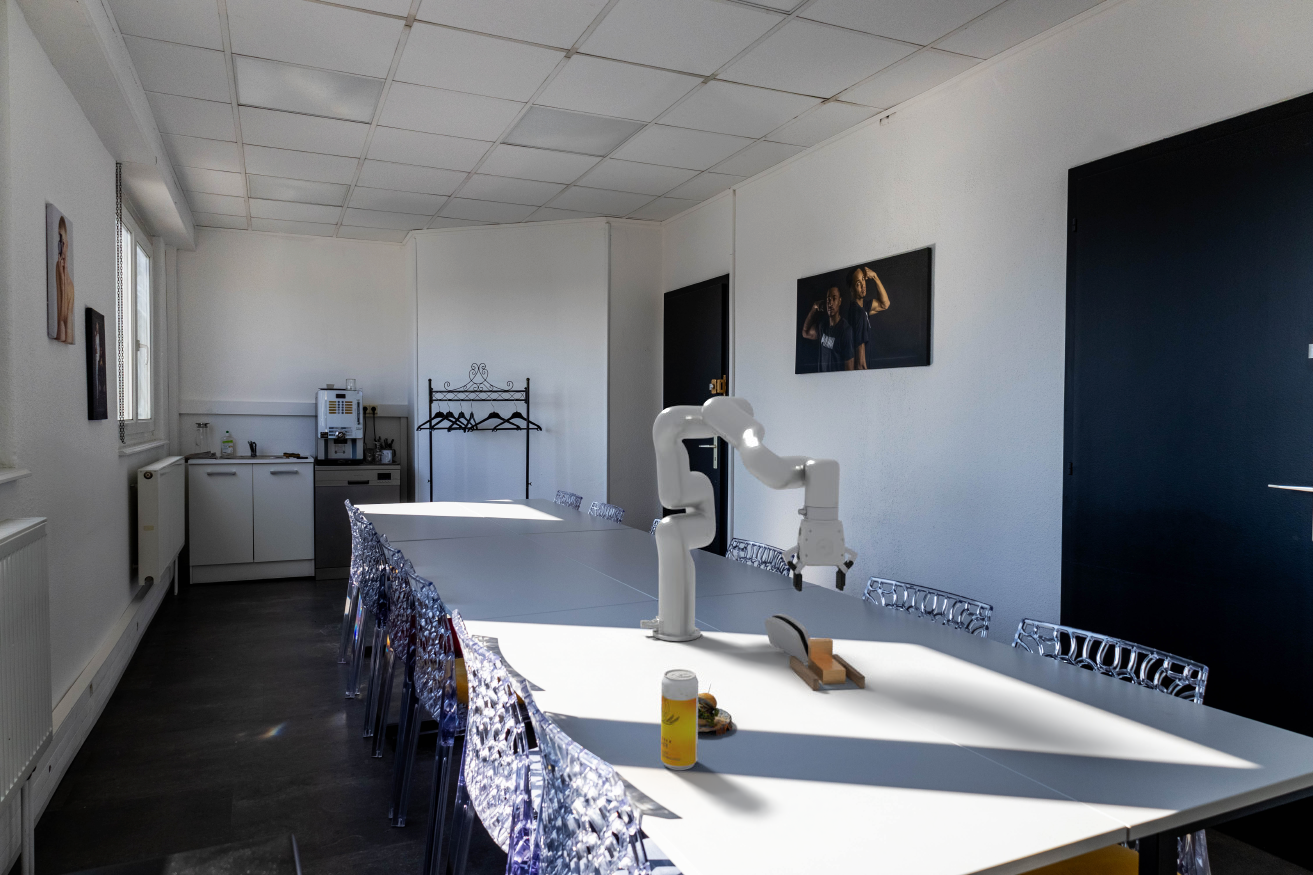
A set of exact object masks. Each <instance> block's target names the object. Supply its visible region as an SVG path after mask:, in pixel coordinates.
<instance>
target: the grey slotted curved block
mask: <svg viewBox="0 0 1313 875" xmlns="http://www.w3.org/2000/svg"><path fill="white" fill-rule="evenodd" d="M764 626H765V630H766V635H767V638H768V641H769V644H770V645H772V646H774V647H776V648H778V649H780V650H781V651H783V652H785V653H787V654H789V656H795V657H797V658H798V659H799V660H800V661H801V662H802V663H803V662H804V663H808V639H811V637H810V634H809V631H808V629H807V628H806V627H805V626H804V625H803V624H802V623H801V622H800V621H798V620H796V619H795V618H794V617H792V616H791V615H788V614H785V613H778V614H774V615H772V616H770V617H767V618H766V619H765V620H764Z"/></svg>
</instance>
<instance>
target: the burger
mask: <svg viewBox="0 0 1313 875" xmlns="http://www.w3.org/2000/svg"><path fill="white" fill-rule="evenodd" d="M711 685H712V684H710V686H709V687H711ZM710 689H711V688H709V689H708V692H701V693H698V733H699V732H706V733H707V732H712V731H713V732H714V731H715V734H716V736H722V735H723V734H726V732H727V731H726V730H727V728H728V729H729V731H730V730H732V729H733V718H732V715H731V714H730V713H728V711H726V710H724V709H722V708H718V707H717V706H718V701H717V699H716V697H715V695H714V694H711V693H710Z"/></svg>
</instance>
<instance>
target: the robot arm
mask: <svg viewBox="0 0 1313 875" xmlns="http://www.w3.org/2000/svg"><path fill="white" fill-rule="evenodd" d="M754 412H755V411H754V409H753V406H752V404H751V403H750V402H749V401H748V400H747V399H745V398H743V397H741V396H728V395H727V396H725V395H719V396H714V397H711V398H708V399H707V400H706V401H705V402H704V403H703V405H675V406H670V407H667V408H665V409H663V410H662V411H661V412H660V413H658V414H657V417H655V421H654V423H653V426H652V440H653V446H654V447H653V448H654V450H655V456H656V457H655V458H656V471H657V472H656V473H657V474H656V475H657V476H656V477H657V488H658V489H657V492H658V499H659V501H660V504H661V506H663V508H666V509H670V510H682V509H685V513H677V514H670V515H667V516H665V517H663V518H661V520H660V521H658V523H657V525H656V526H655V527H656V528H655V530H654V532H655V533H654V536H655V541H656V547H657V555H658V556H657V557H658V615H655V618H652V620H650V619H649V620H648V619H644V620H643V619H641V620H640V628H641V629H642V628H643V629H644V628H646V630H652V636H653V637H654V638H656V639H658V640H661V641H662V640H663V641H667V642H686V641H692V640H696V639H699V638H700V637H701V633H702V632H701V629H699V627H696V624H695V623H696V567H695V566H696V565H695V561H694V559H693V557H692V554H691V550H695V549H698V548H699V549H700V548H704V547H706V546H709V545H710V544H711V543H712V542H713V540H714V538H715V536H716V531H717V529H716V528H717V527H716V526H717V524H716V509H715V495H714V494H715V493H714V487H713V485H712V484H713V483H711V480H710V479H709V477H708V476H707V475H705V474H704V473H703V472H700V471H691V469H690V458H689V454H688V450H687V448H686V446H685V444H684V443H683V442H682V441H683V440H684V439H709V438H715V437H721V438H722V439H723V440H724V441H725V442H727V443H728V444H729V445H730V446H731V447H733V448H734V449H735V450H736V451H738V452H739V457H740V459H741V461H742V464H743V465H744V467H745V469H746V470H747V471H748V472H749V473H750V474H751V475H752V476H753V477H755V479H757V480H758V481H759V482H761V483H762V484H764V485H765V486H766V487H769V488H770V489H772V490H775V491H783V490H793V489H796V490H797V489H804V500H803V502H804V505H803V506H802V508H798V510H797V514H798V515H799V516H803V518H801V519H800V523H799V528H798V533H797V538H796V540H797V541H796V545H794V546H793V547H791V548H788V549H787V550H784V551H783V552H782V553H781V556H782V559H783V561H784V562H785V565H786V566H787V567H788V568H789V569H790V570H791V571H792V585H793V587H794V590H796V591H797V592H798V593H799V592H802V591H803V573H802V571H803V570H804V568H806V566H807V567H836V568H837V570H836V571H835V588H836V589H837V590H838V591H840V592H843V591H844V590H845V589H844V587H846V580H847V578H846V577H847V576H846V574H847V573H849V572H848V571H849V570H850V569H851V568H852V567H853V566H854V564H855V562H856V560H857V558H858V556H859V554H858V552H856V551H855V550H852V549H850V548H849V547H847V546H846V545H845V544H846V542H845V533H844V532H845V531H844V525H843V521H842V520H841V519H839V509H840V508H839V503H840V472H841V470H840V469H841V468H840V463H839V461H837V460H835V459H832V458H813V457H809V456H806V455H784V456H779V455H777V454H776V453H775V452H774V451H772V450H771V449H770V448H768V446H766V445H764V443H763V440H764V437H765V434H766V433H765V432H766V431H765V427H764V425H763V424H762V423H761V422H759V421H758V420H757V419H755V416H754V415H755V413H754ZM795 554H796V561H795V563H794V562H793V561H792V559H791V557H792V556H793V555H795ZM846 554H847V555H848V558H847V560H846Z"/></svg>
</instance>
